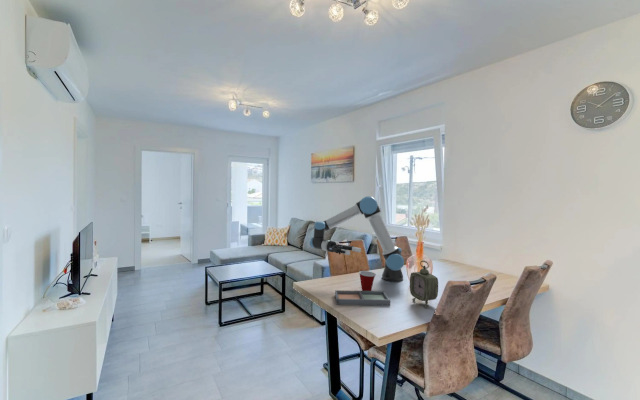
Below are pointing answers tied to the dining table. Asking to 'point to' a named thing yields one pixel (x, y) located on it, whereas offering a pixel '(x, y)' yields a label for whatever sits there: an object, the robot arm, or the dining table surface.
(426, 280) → the tabletop clock
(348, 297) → the organiser tray
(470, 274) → the dining table surface
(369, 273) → the plastic cup
